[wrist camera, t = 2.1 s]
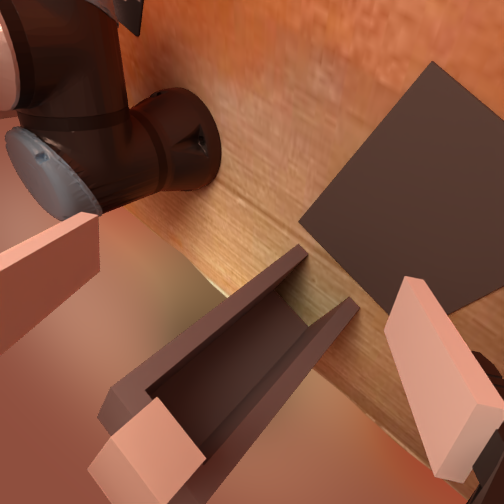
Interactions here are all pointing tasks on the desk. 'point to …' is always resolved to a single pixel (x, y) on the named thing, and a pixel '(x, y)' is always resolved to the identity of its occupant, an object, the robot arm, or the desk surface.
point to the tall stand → (229, 373)
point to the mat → (421, 198)
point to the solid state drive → (129, 14)
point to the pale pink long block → (146, 459)
